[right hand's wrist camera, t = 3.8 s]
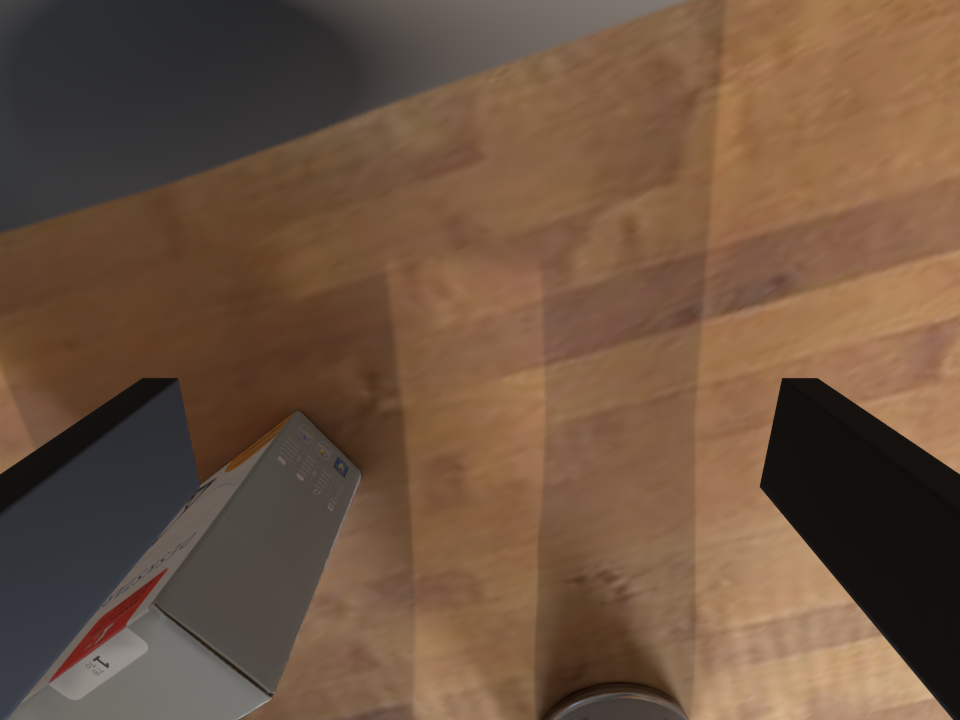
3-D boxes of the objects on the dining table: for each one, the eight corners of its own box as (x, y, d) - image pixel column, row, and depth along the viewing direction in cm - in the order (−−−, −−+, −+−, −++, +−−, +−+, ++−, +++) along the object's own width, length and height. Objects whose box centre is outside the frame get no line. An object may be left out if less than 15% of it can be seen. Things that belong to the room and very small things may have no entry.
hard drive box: (298, 404, 43) (157, 601, 24) (365, 472, 45) (284, 701, 26) (164, 510, 46) (-51, 754, 27) (232, 568, 48) (77, 832, 30)
